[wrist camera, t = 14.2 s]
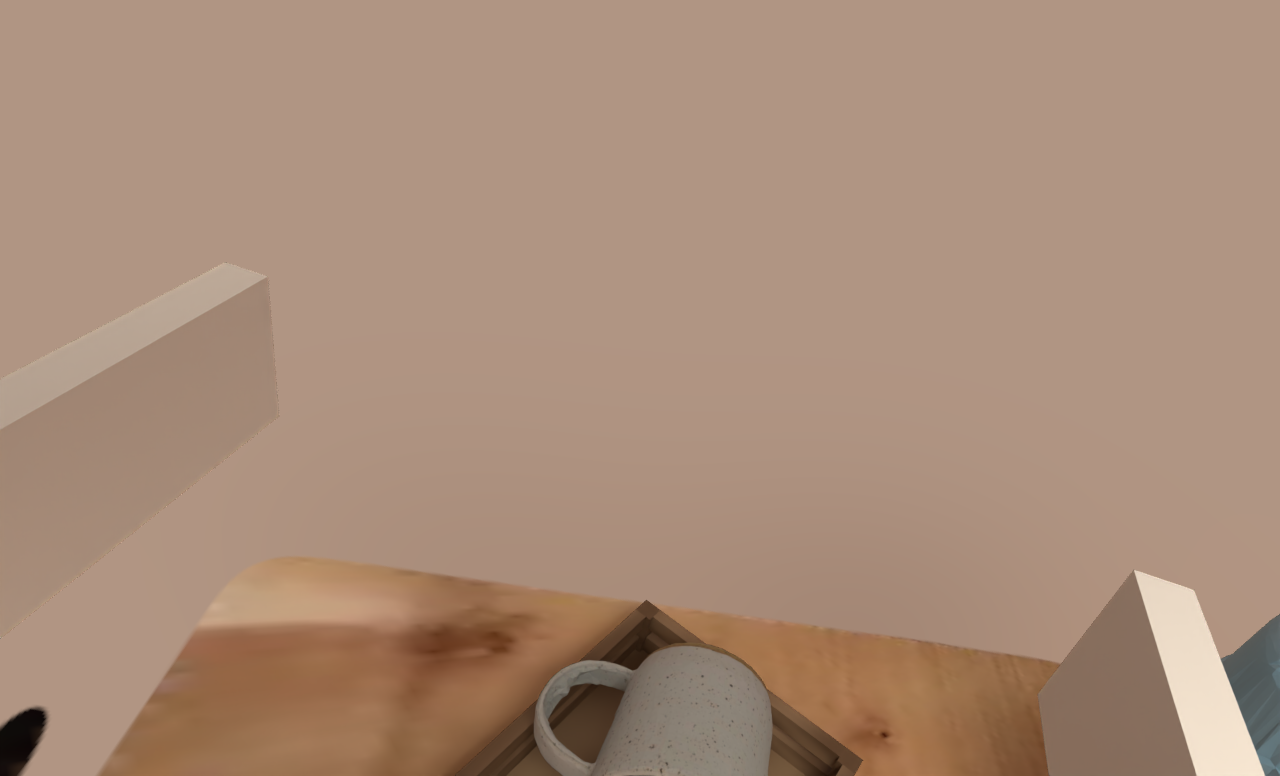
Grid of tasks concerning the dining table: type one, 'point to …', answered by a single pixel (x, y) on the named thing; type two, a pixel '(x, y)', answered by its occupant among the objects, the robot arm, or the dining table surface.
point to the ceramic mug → (669, 716)
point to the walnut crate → (516, 770)
